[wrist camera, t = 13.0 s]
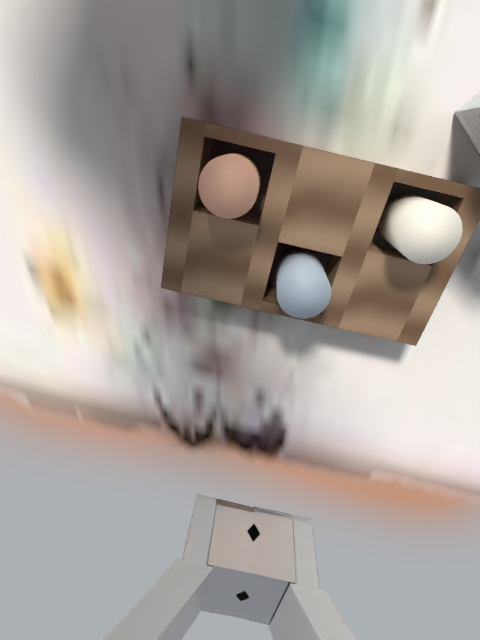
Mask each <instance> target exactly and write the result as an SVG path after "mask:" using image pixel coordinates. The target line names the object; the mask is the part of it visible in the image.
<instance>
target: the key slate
mask: <svg viewBox="0 0 480 640" xmlns="http://www.w3.org/2000/svg"><path fill="white" fill-rule="evenodd" d="M276 286H277V300H278V303H279V305H280V307H281V308H282V310H283V311H284V312H285V313H287V314H288V315H290V316H292V317H295V318H300V319H305V318H311V317H314V316H316V315H318V314H320V313H321V312H322V311H323V310H324V309H325V308H326V307H327V305H328V304H329V302H330V299H331V286H330V283H329V281H328V278H327V276H326V273H325V271H324V269H323V266H322V264H321V261H320V260H319V258H318V257H317V256H316V255H315V254H314V253H312V252H310V251H308V250H303V249H297V250H293V251H290V252H288V253H287V254H285V255H284V256H283V257H282V258H281V259H280V261H279V263H278V265H277V268H276Z"/></svg>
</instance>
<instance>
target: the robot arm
mask: <svg viewBox="0 0 480 640" xmlns="http://www.w3.org/2000/svg"><path fill="white" fill-rule="evenodd" d="M200 611H206V612H212V613H218V614H223V615H229V616H234V617H239V618H243V619H247V620H251V621H255V622H259V623H264V624H267V625H269V629H270V631H271V634H272V636H273V639H274V640H355V638H354V636H353V635H352V633H351V631H350V630H349V628H348V627H347V625H346V623H345V622H344V620H343V619H342V617H341V615H340V613H339V612H338V610H337V608H336V607H335V605H334V604H333V602H332V600H331V599H330V597H329V595H328V594H327V592H326V591H325V590H321V589H320V588H319V579H318V570H317V561H316V551H315V542H314V534H313V525H312V522H311V520H310V519H309V518H304V517H299V516H294V515H290V514H288V513H283V512H278V511H273V510H268V509H262V508H258V507H249V506H245V505H240V504H237V503H233V502H229V501H224V500H220V499H216V498H212V497H208V496H203V495H197V498H196V502H195V506H194V510H193V515H192V519H191V523H190V527H189V531H188V535H187V540H186V544H185V549H184V553H183V558H182V560H179V559H177V560H176V561H175V562H174V563H173V564H172V565H171V566H170V568H169V569H168V570H167V571H166V572H165V573H164V574H163V575H162V576H161V577H160V578H159V580H158V581H157V582H156V583H155V584H154V585H153V586H152V587H151V588H150V589H149V591H148V592H147V593H146V594H145V595H144V596H143V597H142V598H141V599H140V600H139V601H138V603H137V604H136V605H135V606H134V607H133V608H132V609H131V610H130V611H129V612H128V613H127V615H126V616H125V617H124V618H123V619H122V620H121V621H120V622H119V624H117V626H116V627H115V628H114V629H113V630H112V631H111V632H110V633H109V634H108V635H107V636H106V637H105V639H104V640H181V639H182V638H183V636H184V635H185V633H186V632H187V631H188V629H189V628H190V626H191V624H192V623H193V622H194V620H195V619H196V618H197V616H198V615H199V613H200Z"/></svg>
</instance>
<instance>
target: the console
mask: <svg viewBox="0 0 480 640" xmlns="http://www.w3.org/2000/svg"><path fill="white" fill-rule="evenodd" d="M212 138H213V139H217V140H221V141H226V142H230V143H234V144H238V145H242V146H247V147H251V148H255V149H259V150H263V151H268V152H272V153H275V156H274V161H273V165H272V169H271V174H270V178H269V182H268V186H267V191H266V195H265V199H264V204H263V208H262V212H261V216H260V217H259V216H255V215H251V214H247V213H245V214H244V215H242V216H240V217H237V218H232V219H226V218H221V217H218V216H216V215H214V214H213V213H211V212H210V211H209V210H208V209H207V208H206V207H205V205H204V204H203V203H202V200H201V198H200V195H199V189H198V184H199V177H200V174H201V172H202V170H203V168H204V167H205V166H206V164H207V163H208V161H209V155H210V149H211V142H212ZM394 182H398V183H402V184H406V185H411V186H415V187H419V188H423V189H427V190H432V191H436V192H440V193H441V194H440V196H439V198H438V201H437V203H440V204H442V205H445V206H448V207H450V208H452V209H453V210H455V211H456V212H457V214H458V215H459V217H460V219H461V221H462V236H461V239H460V241H459V243H458V245H457V247H456V248H455V249H454V251H453V252H452V253H451V254H450V255H448V256H447V257H446V258H444V259H442V260H440V261H438V262H435V263H432V264H418V263H415V262H412V261H410V260H409V259H408V258H406V257H405V256H404V255H403V254H402V253H401V252H399V251H398V250H397V249H396V248H392V247H388V246H384V245H379V244H375V243H371V241H372V238H373V236H374V233H375V231H376V228H377V225H378V223H379V220H380V217H381V215H382V212H383V210H384V207H385V204H386V202H387V199H388V196H389V194H390V191H391V188H392V186H393V183H394ZM479 219H480V188H478V187H473V186H469V185H465V184H461V183H457V182H452V181H448V180H444V179H440V178H436V177H432V176H427V175H423V174H419V173H415V172H411V171H406V170H402V169H398V168H394V167H390V166H385V165H381V164H377V163H373V162H369V161H365V160H360V159H356V158H352V157H348V156H344V155H339V154H335V153H331V152H327V151H323V150H318V149H314V148H310V147H306V146H302V145H297V144H293V143H289V142H285V141H281V140H277V139H272V138H268V137H264V136H260V135H256V134H251V133H247V132H243V131H239V130H235V129H230V128H226V127H222V126H218V125H214V124H209V123H205V122H201V121H197V120H193V119H189V118H184V117H182V120H181V128H180V136H179V144H178V152H177V161H176V169H175V177H174V185H173V193H172V201H171V210H170V218H169V226H168V234H167V242H166V251H165V259H164V267H163V275H162V283H161V288H164V289H169V290H173V291H177V292H182V293H186V294H191V295H195V296H199V297H204V298H208V299H213V300H217V301H221V302H226V303H230V304H235V305H239V306H243V307H248V308H252V309H256V310H261V311H265V312H270V313H274V314H278V315H283V316H287V317H292V316H290V315H288V314H287V313H285V312H284V311H283V310H282V308H281V307H280V305H279V303H278V300H277V288H274V287H269V286H267V282H268V278H269V274H270V270H271V267H272V263H273V259H274V255H275V251H276V248H277V244H278V242H281V243H285V244H289V245H294V246H298V247H302V248H307V249H311V250H315V251H319V252H324V253H328V254H331V257H330V260H329V263H328V266H327V269H326V272H325V273H326V276H327V278H328V281H329V283H330V286H331V299H330V302H329V304H328V305H327V307H326V308H325V309H324V310H323V311H322V312H321V313H320V314H318V315H316V316H314V317H311V318H305V319H300V318H296V319H300V320H305V321H309V322H314V323H318V324H322V325H327V326H331V327H336V328H340V329H344V330H349V331H353V332H357V333H362V334H366V335H371V336H375V337H379V338H384V339H388V340H393V341H397V342H401V343H406V344H410V345H415V346H416V345H417V343H418V341H419V339H420V337H421V335H422V333H423V331H424V329H425V327H426V325H427V323H428V321H429V319H430V317H431V315H432V313H433V311H434V309H435V307H436V305H437V303H438V301H439V299H440V297H441V295H442V293H443V291H444V289H445V287H446V285H447V283H448V281H449V279H450V277H451V275H452V273H453V271H454V269H455V267H456V265H457V263H458V261H459V259H460V257H461V255H462V253H463V251H464V249H465V247H466V245H467V243H468V241H469V239H470V237H471V235H472V233H473V231H474V229H475V227H476V225H477V223H478V221H479ZM292 318H295V317H292Z"/></svg>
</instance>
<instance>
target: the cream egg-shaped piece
mask: <svg viewBox="0 0 480 640" xmlns="http://www.w3.org/2000/svg"><path fill="white" fill-rule="evenodd" d="M379 229H380V232H381V234H382V236H383V237H384V239H385V240H386V241H388V242H389V243H390V244H391V245H392V246H393V247H395V248H396V249H397V250H398V251H399V252H401V253H402V254H403V255H404V256H405V257H406V258H408V259H409V260H410V261H412V262H415V263H418V264H432V263H435V262H438V261H440V260H442V259H444V258H446V257H447V256H448V255H450V254H451V253H452V252H453V251H454V249H455V248H456V247H457V245H458V243H459V241H460V239H461V236H462V221H461V219H460V217H459V215H458V214H457V212H456V211H455V210H453V209H452V208H450V207H448V206H445V205H442V204H440V203H437V202H434V201H431V200H429V199H426V198H423V197H420V196H417V195H413V194H407V195H402V196H399V197H397V198H395V199H393V200H392V201H391V202H389V203H388V204H387V205H386V207H385V208H384V210H383V212H382V215H381V217H380V220H379Z"/></svg>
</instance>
